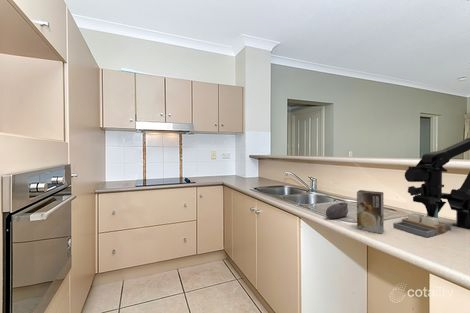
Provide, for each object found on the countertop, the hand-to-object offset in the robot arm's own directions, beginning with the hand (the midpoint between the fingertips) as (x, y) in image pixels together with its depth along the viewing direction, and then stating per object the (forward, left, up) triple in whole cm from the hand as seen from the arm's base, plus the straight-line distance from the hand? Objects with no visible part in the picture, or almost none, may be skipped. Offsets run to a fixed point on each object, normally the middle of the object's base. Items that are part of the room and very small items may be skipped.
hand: (432, 217), depth 95 cm
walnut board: (+7, 0, -4) cm, 8 cm away
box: (+14, 0, -4) cm, 15 cm away
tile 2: (+7, +3, -1) cm, 8 cm away
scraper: (0, 0, -4) cm, 4 cm away
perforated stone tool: (+27, -27, -4) cm, 38 cm away
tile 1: (+7, -2, -1) cm, 8 cm away
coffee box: (+28, -9, -4) cm, 30 cm away
